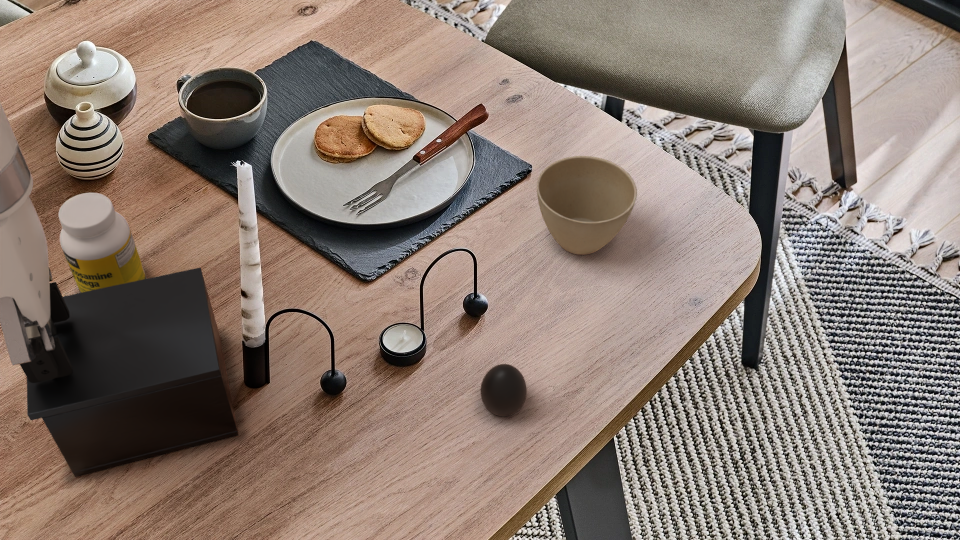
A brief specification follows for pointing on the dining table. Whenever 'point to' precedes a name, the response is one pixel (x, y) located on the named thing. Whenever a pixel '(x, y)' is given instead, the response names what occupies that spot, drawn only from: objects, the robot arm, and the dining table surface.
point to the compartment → (147, 422)
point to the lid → (129, 343)
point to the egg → (503, 390)
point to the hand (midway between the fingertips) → (50, 346)
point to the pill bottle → (98, 243)
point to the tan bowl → (585, 201)
